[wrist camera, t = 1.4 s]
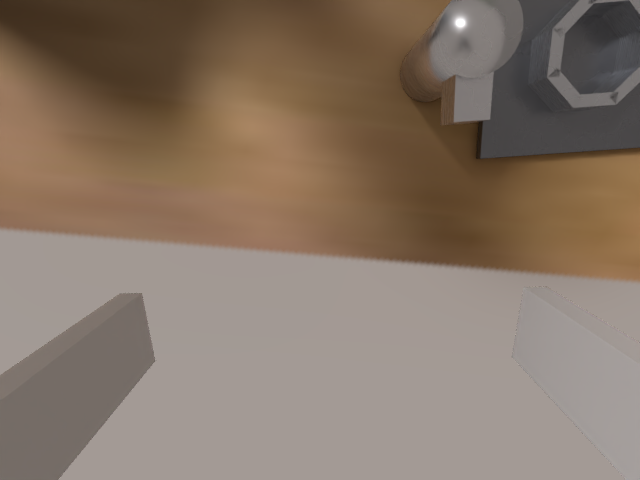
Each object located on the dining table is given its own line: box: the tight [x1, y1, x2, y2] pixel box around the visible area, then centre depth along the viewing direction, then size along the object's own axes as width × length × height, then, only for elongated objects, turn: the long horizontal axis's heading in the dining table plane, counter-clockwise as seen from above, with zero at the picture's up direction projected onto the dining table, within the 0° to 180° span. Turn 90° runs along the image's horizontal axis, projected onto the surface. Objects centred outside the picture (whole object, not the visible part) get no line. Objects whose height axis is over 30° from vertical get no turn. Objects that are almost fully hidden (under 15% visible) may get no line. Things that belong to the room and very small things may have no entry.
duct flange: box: [476, 0, 640, 159], centre depth 26 cm, size 16×16×3 cm
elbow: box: [400, 0, 523, 125], centre depth 24 cm, size 8×5×10 cm, turn 4°
